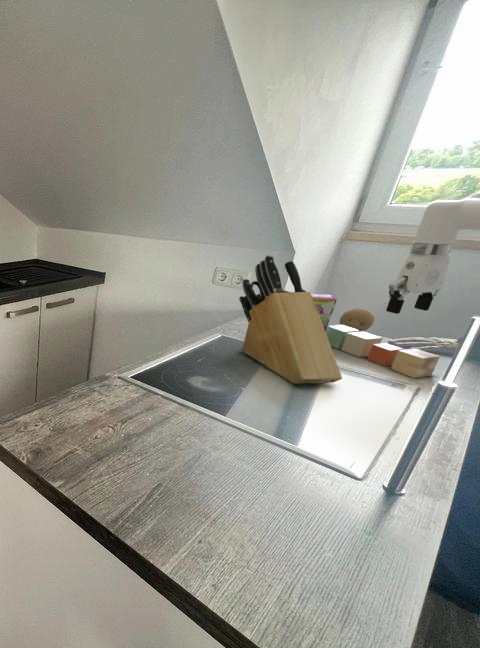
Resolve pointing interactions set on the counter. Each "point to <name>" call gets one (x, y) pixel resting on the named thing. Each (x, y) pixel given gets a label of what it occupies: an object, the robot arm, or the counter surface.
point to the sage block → (338, 334)
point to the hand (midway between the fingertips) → (406, 310)
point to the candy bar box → (324, 307)
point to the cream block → (360, 343)
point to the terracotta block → (383, 353)
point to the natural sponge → (357, 319)
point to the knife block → (286, 328)
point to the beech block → (415, 363)
